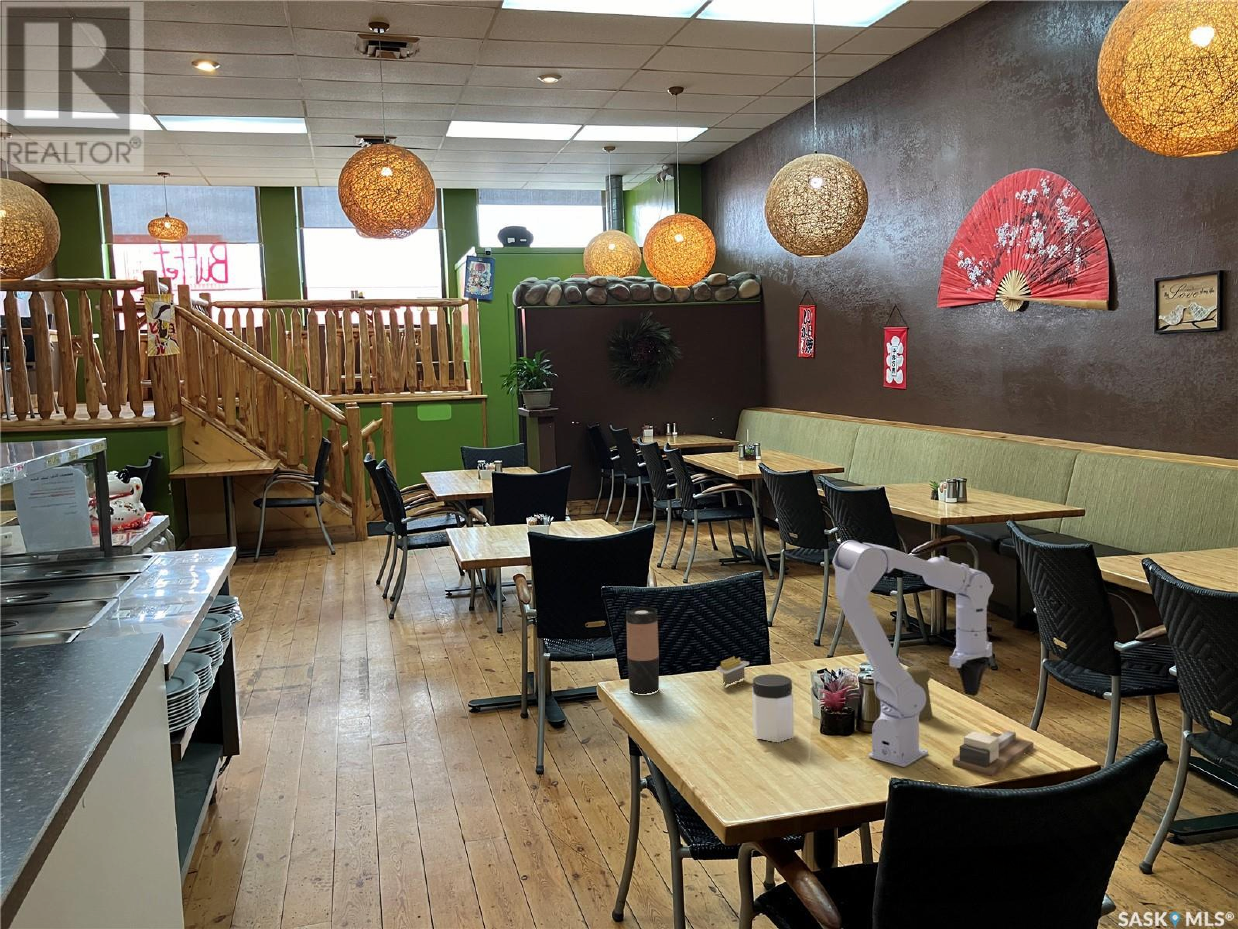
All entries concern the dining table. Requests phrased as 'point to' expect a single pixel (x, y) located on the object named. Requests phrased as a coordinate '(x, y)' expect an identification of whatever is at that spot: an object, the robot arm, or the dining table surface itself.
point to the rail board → (1002, 758)
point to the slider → (984, 743)
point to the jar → (773, 708)
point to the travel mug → (642, 650)
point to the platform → (732, 670)
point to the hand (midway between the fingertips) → (971, 694)
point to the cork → (921, 678)
